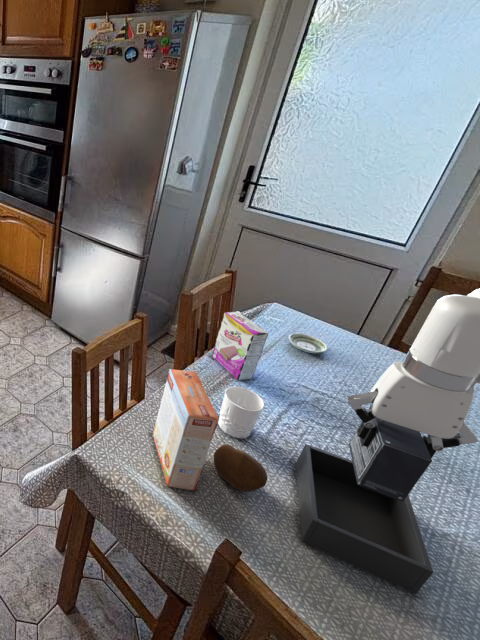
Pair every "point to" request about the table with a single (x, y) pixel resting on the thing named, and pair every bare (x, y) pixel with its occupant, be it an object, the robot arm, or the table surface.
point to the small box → (390, 460)
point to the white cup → (239, 411)
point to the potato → (239, 469)
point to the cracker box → (184, 429)
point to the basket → (358, 521)
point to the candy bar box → (239, 345)
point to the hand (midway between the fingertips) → (389, 449)
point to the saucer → (307, 343)
